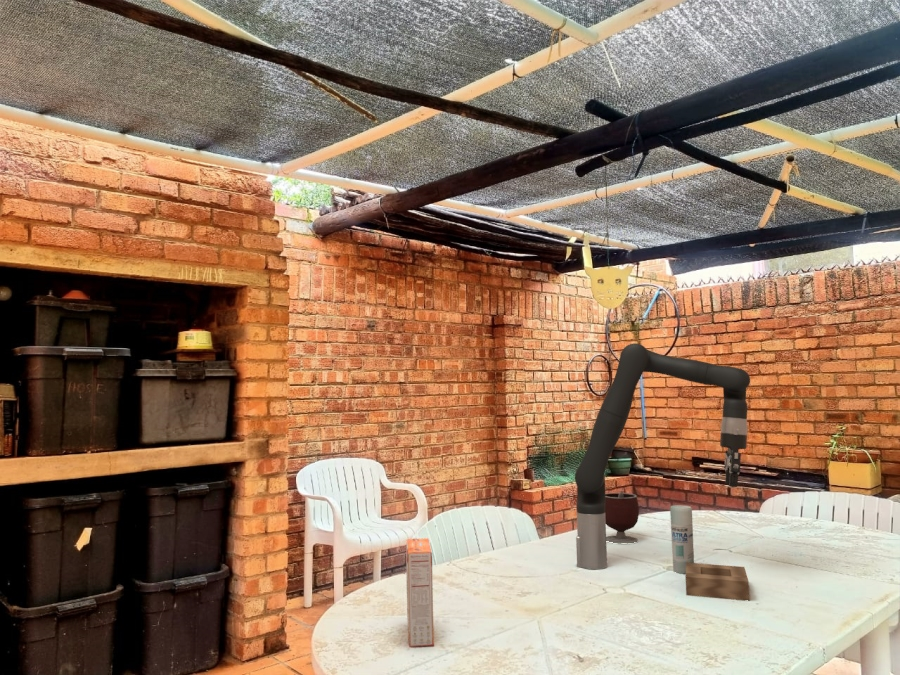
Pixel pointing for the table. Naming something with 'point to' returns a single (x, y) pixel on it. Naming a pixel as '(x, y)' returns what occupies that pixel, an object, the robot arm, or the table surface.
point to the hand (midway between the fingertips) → (731, 485)
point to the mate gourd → (621, 515)
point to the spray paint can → (681, 537)
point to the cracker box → (419, 592)
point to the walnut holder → (717, 581)
